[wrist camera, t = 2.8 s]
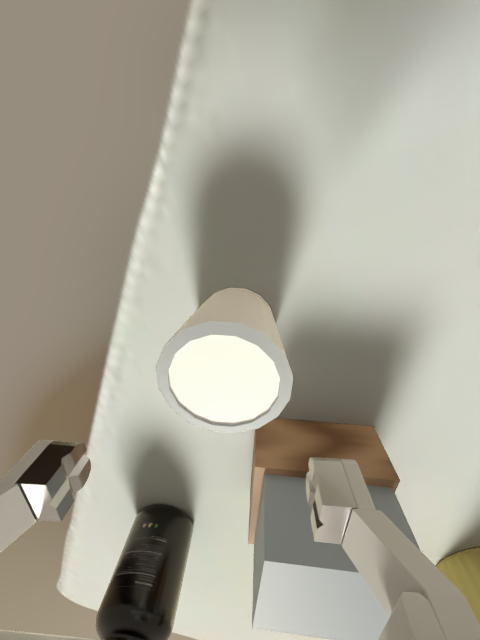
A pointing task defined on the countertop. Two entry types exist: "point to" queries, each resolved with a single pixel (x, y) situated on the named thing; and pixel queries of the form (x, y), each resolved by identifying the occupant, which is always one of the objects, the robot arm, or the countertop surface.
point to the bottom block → (314, 454)
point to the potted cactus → (465, 575)
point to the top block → (312, 569)
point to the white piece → (227, 365)
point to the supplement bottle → (147, 577)
